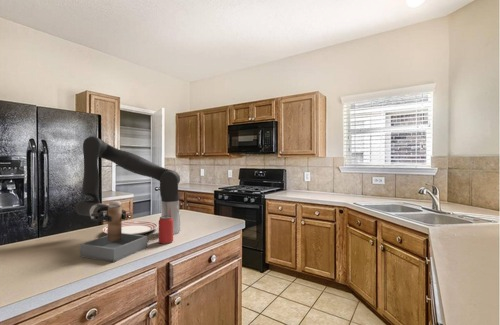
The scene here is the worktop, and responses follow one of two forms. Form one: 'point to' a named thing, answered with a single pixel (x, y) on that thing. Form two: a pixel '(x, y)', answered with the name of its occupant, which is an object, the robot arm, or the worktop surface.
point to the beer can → (165, 229)
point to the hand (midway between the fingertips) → (117, 218)
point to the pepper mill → (115, 221)
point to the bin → (113, 247)
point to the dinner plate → (135, 227)
